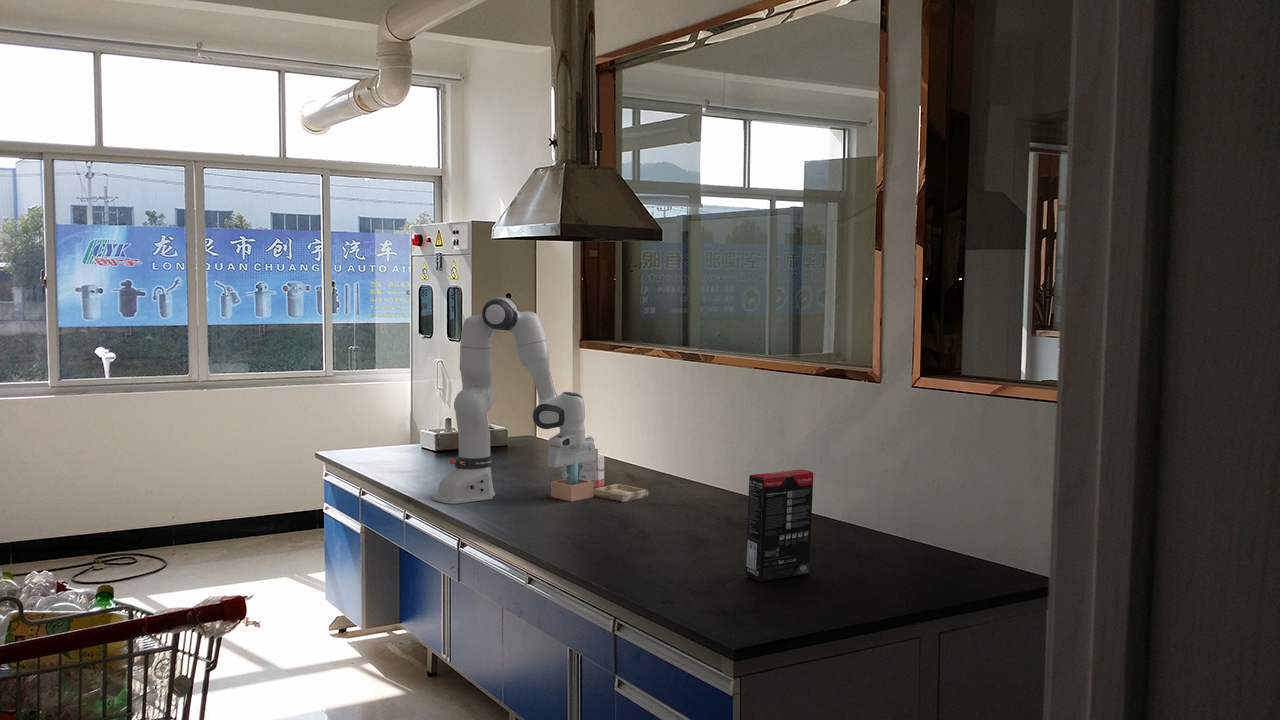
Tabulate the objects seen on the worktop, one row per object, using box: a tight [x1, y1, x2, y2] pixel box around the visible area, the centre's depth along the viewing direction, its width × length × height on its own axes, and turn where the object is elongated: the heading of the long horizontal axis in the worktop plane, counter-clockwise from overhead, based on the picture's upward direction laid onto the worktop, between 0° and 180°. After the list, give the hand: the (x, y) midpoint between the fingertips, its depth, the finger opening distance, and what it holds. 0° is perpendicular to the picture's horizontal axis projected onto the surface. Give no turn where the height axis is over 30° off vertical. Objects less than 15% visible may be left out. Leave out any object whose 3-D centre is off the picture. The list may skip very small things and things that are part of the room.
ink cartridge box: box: [578, 448, 605, 489], centre depth 369 cm, size 9×5×15 cm, turn 62°
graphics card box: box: [745, 469, 814, 583], centre depth 256 cm, size 17×7×27 cm, turn 123°
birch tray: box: [593, 483, 649, 503], centre depth 352 cm, size 13×15×2 cm
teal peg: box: [566, 458, 579, 485], centre depth 350 cm, size 4×4×14 cm
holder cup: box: [550, 477, 595, 502], centre depth 350 cm, size 11×11×6 cm
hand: (572, 476), depth 350 cm, fingers open, 5 cm apart
